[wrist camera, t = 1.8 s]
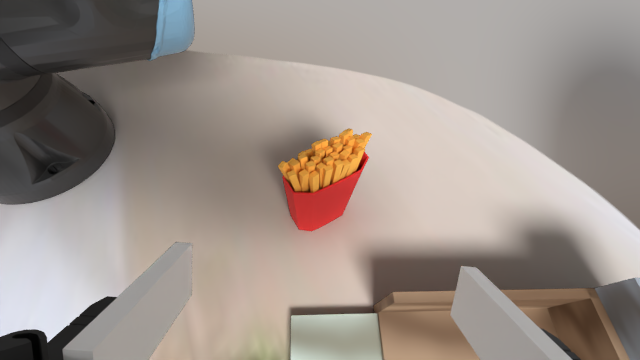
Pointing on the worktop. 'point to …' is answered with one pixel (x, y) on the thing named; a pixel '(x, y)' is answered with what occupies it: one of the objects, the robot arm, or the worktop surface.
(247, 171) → the worktop surface
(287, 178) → the french fries
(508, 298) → the robot arm
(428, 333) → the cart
